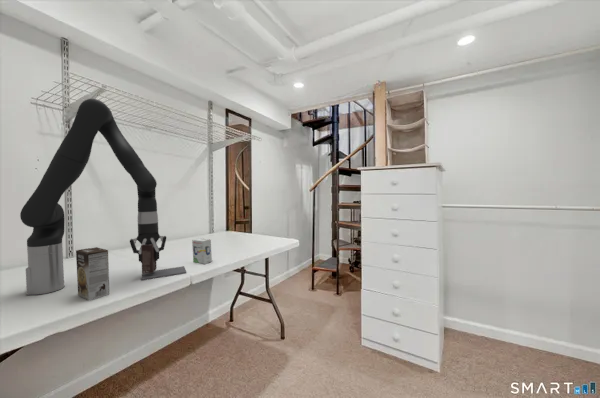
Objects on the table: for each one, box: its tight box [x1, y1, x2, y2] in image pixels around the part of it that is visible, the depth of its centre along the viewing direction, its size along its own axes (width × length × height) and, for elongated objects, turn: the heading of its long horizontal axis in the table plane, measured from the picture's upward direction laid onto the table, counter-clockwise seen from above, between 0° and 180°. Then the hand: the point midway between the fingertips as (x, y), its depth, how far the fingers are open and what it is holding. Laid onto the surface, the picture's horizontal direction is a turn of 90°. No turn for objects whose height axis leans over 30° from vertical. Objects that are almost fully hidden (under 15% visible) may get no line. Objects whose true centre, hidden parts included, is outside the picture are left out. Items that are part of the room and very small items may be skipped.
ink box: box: [191, 237, 213, 265], centre depth 129 cm, size 9×5×12 cm, turn 62°
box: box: [140, 244, 158, 275], centre depth 109 cm, size 6×4×12 cm
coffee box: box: [75, 247, 110, 301], centre depth 89 cm, size 9×6×16 cm
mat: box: [140, 265, 187, 281], centre depth 112 cm, size 17×10×1 cm, turn 120°
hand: (149, 261), depth 109 cm, fingers closed on box, 5 cm apart
